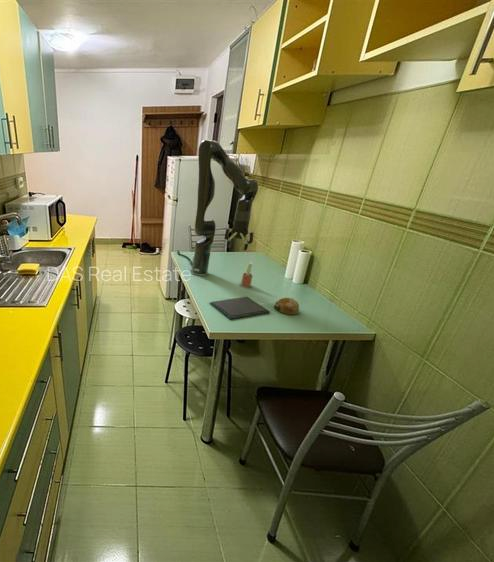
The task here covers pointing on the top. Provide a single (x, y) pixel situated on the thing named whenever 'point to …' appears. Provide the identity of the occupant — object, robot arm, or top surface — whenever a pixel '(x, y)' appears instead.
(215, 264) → the top surface
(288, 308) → the bread roll
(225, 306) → the plate
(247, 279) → the pen pot
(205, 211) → the robot arm
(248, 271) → the stylus
